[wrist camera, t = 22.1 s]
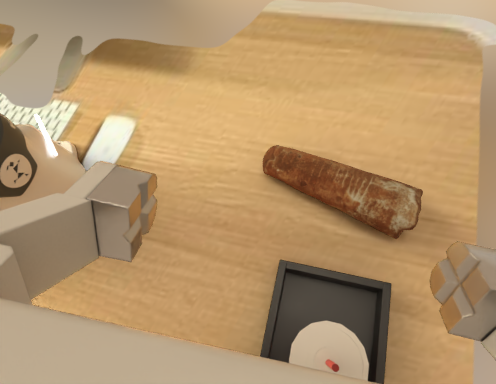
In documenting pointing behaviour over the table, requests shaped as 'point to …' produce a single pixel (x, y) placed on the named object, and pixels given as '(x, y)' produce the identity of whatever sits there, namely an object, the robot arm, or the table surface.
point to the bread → (348, 189)
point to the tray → (328, 311)
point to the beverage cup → (330, 350)
